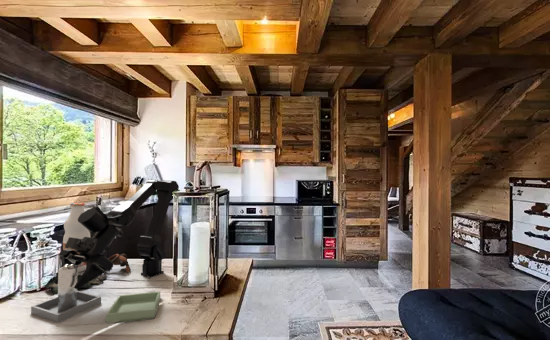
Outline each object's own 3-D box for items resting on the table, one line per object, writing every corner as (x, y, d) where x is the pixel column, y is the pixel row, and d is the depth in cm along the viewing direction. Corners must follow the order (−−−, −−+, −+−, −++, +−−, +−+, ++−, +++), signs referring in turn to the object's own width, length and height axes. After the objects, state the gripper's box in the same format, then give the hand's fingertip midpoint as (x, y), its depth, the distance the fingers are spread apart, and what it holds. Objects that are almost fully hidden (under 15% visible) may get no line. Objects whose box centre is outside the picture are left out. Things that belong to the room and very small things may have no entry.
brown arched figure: (127, 276, 111) (115, 260, 109) (106, 286, 111) (93, 271, 109) (137, 259, 123) (127, 245, 121) (118, 269, 123) (107, 254, 121)
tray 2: (118, 303, 87) (118, 295, 87) (160, 299, 91) (160, 291, 91) (105, 324, 76) (106, 314, 76) (154, 318, 79) (154, 309, 79)
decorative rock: (94, 263, 113) (117, 267, 106) (94, 279, 113) (117, 283, 106) (38, 276, 97) (61, 280, 90) (37, 294, 96) (60, 300, 89)
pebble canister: (72, 303, 86) (73, 261, 86) (79, 306, 84) (80, 264, 84) (54, 309, 82) (55, 265, 82) (62, 313, 80) (62, 268, 80)
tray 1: (75, 297, 91) (75, 289, 91) (101, 304, 86) (101, 296, 86) (31, 315, 80) (31, 306, 80) (57, 324, 75) (58, 315, 75)
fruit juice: (58, 270, 115) (59, 203, 116) (83, 264, 123) (83, 201, 124) (69, 275, 111) (70, 205, 111) (94, 268, 119) (95, 202, 119)
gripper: (65, 224, 91) (23, 268, 81) (105, 229, 84) (65, 278, 74) (88, 242, 98) (53, 285, 88) (127, 248, 91) (93, 296, 81)
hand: (65, 286), depth 82 cm, fingers open, 9 cm apart
